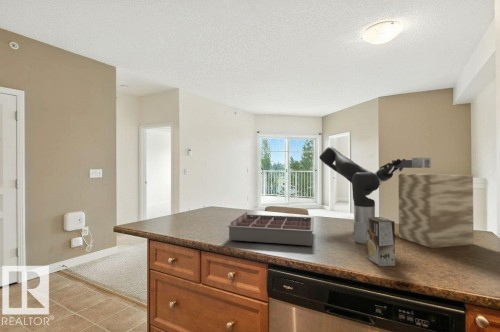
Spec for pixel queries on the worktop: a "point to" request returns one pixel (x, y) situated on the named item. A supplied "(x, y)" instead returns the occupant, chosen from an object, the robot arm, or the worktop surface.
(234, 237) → the organizer tray
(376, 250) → the coffee box
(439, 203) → the wood grain block
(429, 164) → the bar
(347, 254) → the worktop surface
